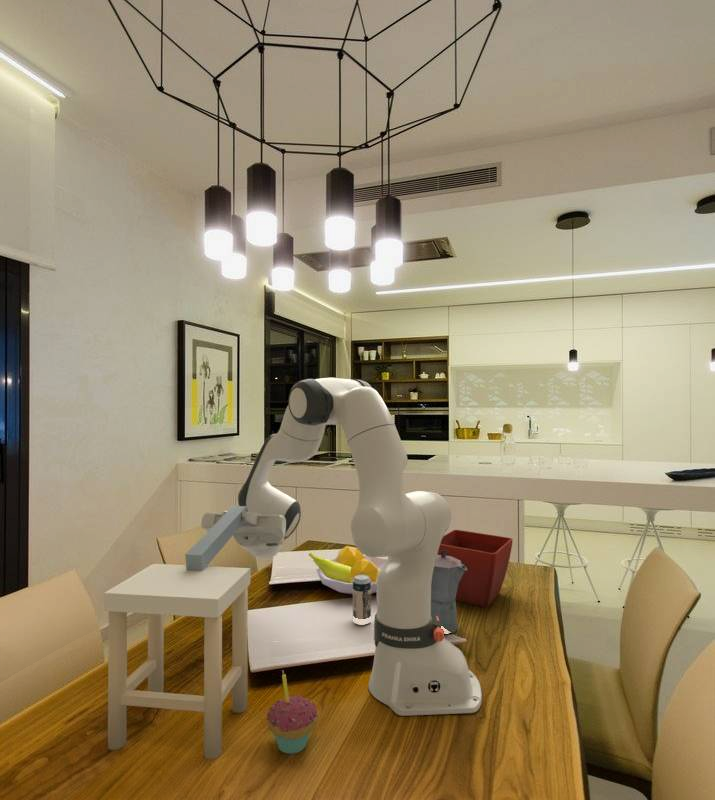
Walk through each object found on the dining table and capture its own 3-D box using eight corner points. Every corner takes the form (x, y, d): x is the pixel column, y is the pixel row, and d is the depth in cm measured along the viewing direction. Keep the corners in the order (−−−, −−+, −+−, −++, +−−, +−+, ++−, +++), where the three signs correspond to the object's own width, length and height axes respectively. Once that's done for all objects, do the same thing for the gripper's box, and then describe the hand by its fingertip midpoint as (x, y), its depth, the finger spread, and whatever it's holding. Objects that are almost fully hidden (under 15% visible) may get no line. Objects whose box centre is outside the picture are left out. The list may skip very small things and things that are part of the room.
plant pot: (513, 592, 149) (513, 537, 149) (495, 615, 133) (495, 553, 133) (454, 580, 159) (454, 528, 159) (430, 600, 143) (430, 542, 143)
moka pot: (460, 642, 118) (460, 559, 118) (403, 627, 126) (403, 549, 126) (473, 627, 126) (473, 549, 126) (419, 613, 134) (419, 540, 134)
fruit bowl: (405, 575, 164) (405, 541, 164) (392, 608, 137) (392, 568, 137) (325, 569, 170) (325, 536, 170) (299, 599, 144) (299, 561, 144)
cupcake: (257, 753, 80) (257, 680, 80) (283, 722, 88) (283, 655, 88) (303, 768, 77) (303, 691, 77) (326, 734, 85) (326, 665, 85)
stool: (250, 704, 93) (250, 568, 94) (217, 760, 78) (218, 599, 79) (152, 695, 96) (153, 563, 96) (103, 749, 81) (104, 592, 81)
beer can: (369, 627, 125) (369, 580, 126) (351, 625, 126) (351, 579, 127) (372, 619, 130) (372, 574, 130) (354, 617, 131) (354, 573, 131)
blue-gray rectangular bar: (246, 519, 116) (246, 506, 115) (202, 570, 92) (201, 555, 92) (233, 518, 116) (233, 505, 115) (186, 570, 92) (185, 554, 92)
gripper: (215, 517, 127) (194, 500, 115) (292, 520, 124) (278, 502, 112) (210, 541, 124) (188, 526, 112) (288, 545, 121) (274, 529, 109)
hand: (234, 514), depth 112 cm, fingers closed on blue-gray rectangular bar, 3 cm apart
